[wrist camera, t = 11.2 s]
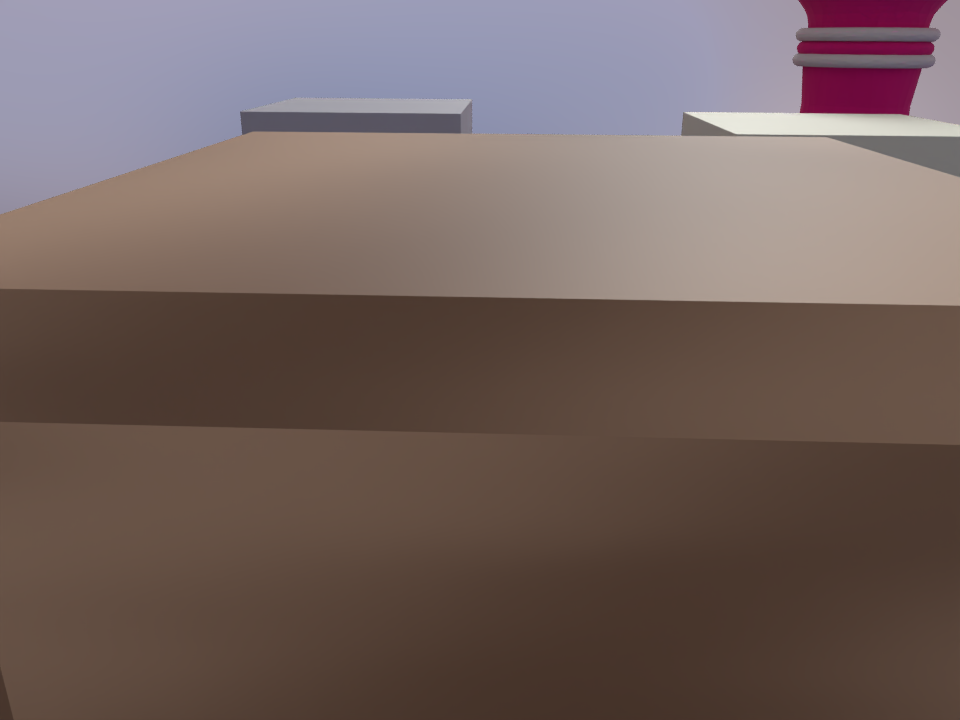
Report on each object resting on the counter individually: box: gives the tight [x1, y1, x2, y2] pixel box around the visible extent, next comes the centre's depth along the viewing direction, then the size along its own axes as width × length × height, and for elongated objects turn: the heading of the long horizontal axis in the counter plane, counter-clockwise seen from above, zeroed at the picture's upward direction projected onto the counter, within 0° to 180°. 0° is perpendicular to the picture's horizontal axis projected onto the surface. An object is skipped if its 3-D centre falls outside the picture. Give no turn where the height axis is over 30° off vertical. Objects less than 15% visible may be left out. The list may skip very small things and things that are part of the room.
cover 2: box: [681, 112, 960, 177], centre depth 24 cm, size 6×6×11 cm
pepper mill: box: [793, 0, 947, 116], centre depth 33 cm, size 7×7×20 cm
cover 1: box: [240, 98, 472, 135], centre depth 29 cm, size 6×6×11 cm
